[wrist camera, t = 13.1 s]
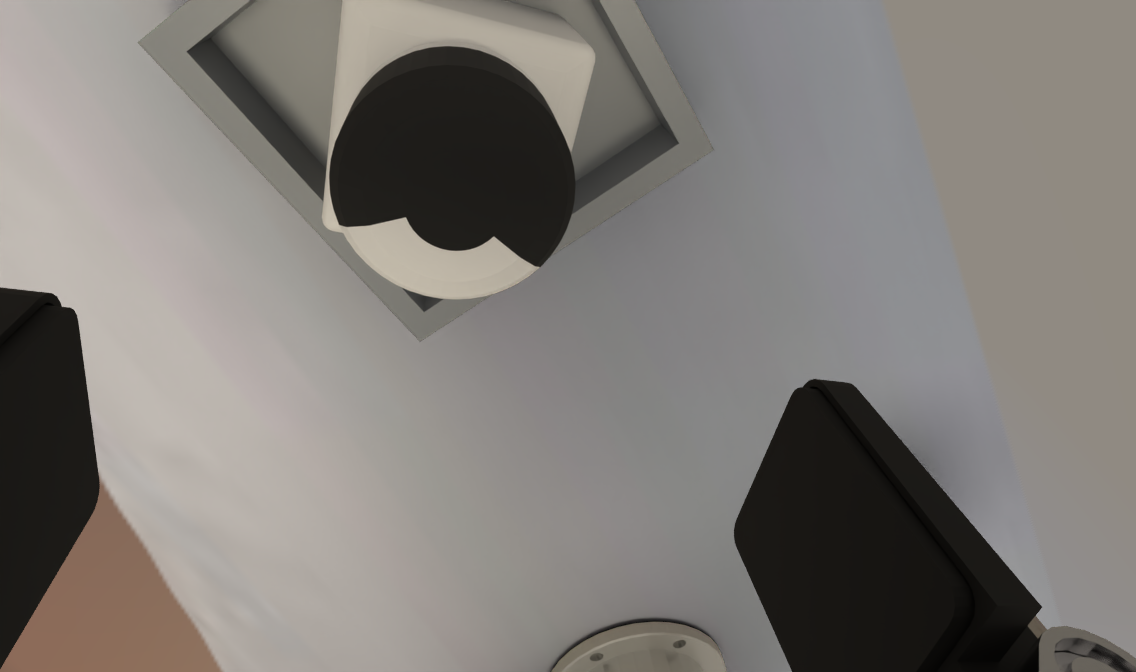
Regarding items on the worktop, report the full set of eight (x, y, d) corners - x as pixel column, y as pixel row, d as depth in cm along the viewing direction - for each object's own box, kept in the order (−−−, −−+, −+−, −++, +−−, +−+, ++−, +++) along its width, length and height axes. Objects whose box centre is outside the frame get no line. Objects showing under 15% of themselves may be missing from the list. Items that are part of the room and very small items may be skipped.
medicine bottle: (368, -37, 25) (312, 6, 15) (566, 16, 26) (639, 87, 16) (346, 161, 28) (289, 308, 18) (523, 196, 30) (562, 349, 20)
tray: (687, 125, 30) (713, 149, 27) (422, 301, 33) (419, 341, 30) (492, -235, 23) (499, -255, 20) (173, 26, 26) (137, 42, 23)
